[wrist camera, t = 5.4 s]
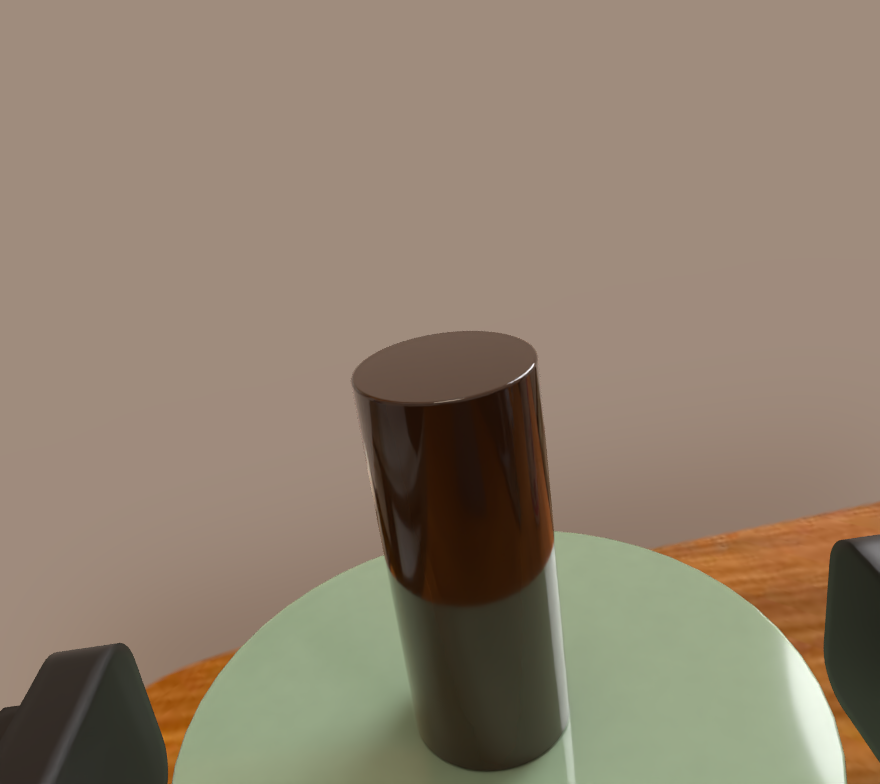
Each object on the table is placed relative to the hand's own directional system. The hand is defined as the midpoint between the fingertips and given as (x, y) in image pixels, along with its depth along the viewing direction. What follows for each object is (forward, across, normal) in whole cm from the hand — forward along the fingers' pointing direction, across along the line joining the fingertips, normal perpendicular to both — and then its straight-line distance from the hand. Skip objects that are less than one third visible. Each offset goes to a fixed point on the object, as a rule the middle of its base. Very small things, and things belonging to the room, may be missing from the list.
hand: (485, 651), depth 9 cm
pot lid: (+4, 0, +5) cm, 7 cm away
